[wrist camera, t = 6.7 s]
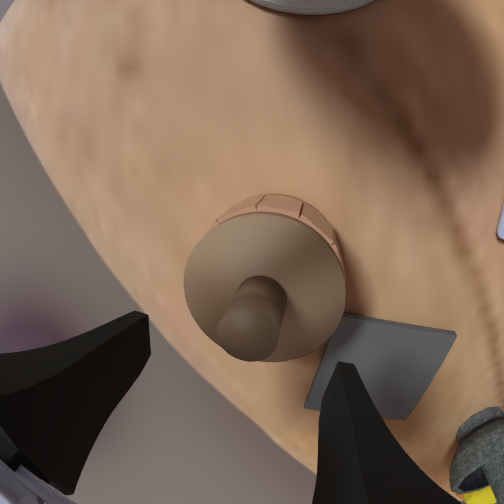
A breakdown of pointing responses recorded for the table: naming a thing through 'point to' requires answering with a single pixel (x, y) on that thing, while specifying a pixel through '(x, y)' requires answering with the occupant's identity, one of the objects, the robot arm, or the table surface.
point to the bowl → (289, 208)
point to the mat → (384, 361)
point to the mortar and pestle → (480, 454)
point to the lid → (265, 287)
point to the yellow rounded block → (479, 496)
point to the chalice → (312, 6)
